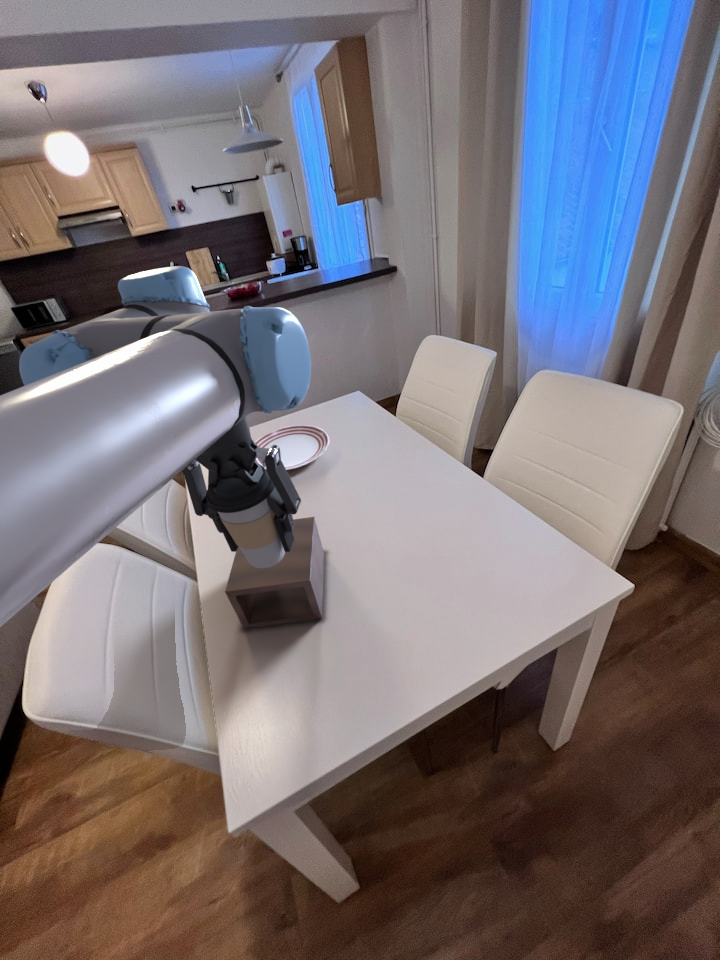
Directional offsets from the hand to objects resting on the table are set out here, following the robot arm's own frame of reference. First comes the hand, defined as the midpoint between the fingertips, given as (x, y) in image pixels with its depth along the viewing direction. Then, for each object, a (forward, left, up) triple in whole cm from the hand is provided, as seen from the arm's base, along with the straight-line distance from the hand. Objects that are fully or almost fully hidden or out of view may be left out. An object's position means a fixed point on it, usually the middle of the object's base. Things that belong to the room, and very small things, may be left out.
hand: (263, 545), depth 62 cm
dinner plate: (+59, +39, -26) cm, 76 cm away
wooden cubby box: (+10, +10, -26) cm, 29 cm away
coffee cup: (0, 0, -2) cm, 2 cm away
